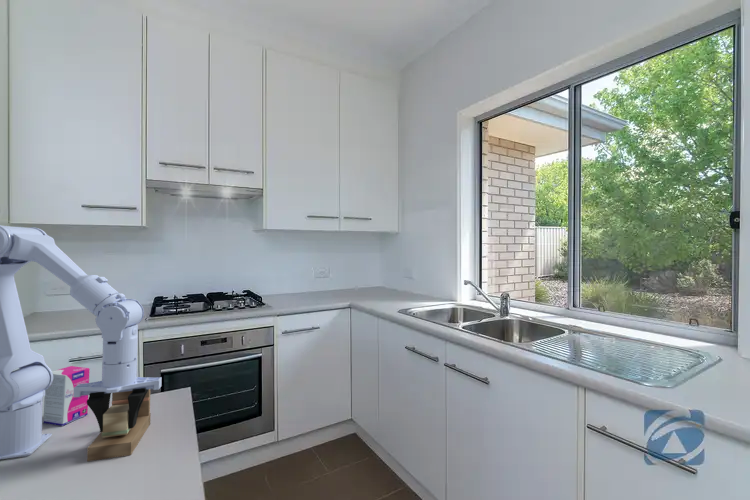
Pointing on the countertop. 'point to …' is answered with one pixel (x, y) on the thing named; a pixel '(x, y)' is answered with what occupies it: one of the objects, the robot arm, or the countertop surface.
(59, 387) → the supplement box
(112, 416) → the green-banded taupe cube
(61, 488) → the countertop surface
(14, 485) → the countertop surface
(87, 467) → the countertop surface
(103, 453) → the walnut base
